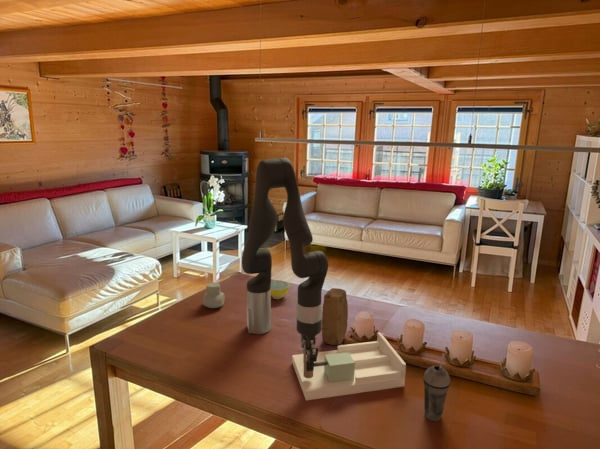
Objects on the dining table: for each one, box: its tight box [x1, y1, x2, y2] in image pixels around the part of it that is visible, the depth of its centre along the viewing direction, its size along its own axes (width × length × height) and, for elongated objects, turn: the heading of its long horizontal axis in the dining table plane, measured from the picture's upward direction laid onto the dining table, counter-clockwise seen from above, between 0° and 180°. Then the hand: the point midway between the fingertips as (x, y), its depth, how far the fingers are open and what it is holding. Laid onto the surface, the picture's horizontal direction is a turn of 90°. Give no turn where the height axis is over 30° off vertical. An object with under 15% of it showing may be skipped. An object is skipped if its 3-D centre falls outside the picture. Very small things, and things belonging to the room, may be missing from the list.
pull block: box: [303, 352, 355, 383], centre depth 131 cm, size 16×6×10 cm, turn 103°
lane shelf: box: [291, 332, 407, 401], centre depth 138 cm, size 32×20×8 cm, turn 103°
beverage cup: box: [422, 352, 451, 422], centre depth 118 cm, size 7×7×20 cm
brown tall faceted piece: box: [321, 287, 349, 346], centre depth 158 cm, size 11×8×20 cm
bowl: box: [271, 279, 290, 300], centre depth 196 cm, size 11×12×6 cm
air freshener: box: [202, 281, 226, 309], centre depth 186 cm, size 11×8×10 cm
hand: (308, 366), depth 130 cm, fingers closed on pull block, 3 cm apart
